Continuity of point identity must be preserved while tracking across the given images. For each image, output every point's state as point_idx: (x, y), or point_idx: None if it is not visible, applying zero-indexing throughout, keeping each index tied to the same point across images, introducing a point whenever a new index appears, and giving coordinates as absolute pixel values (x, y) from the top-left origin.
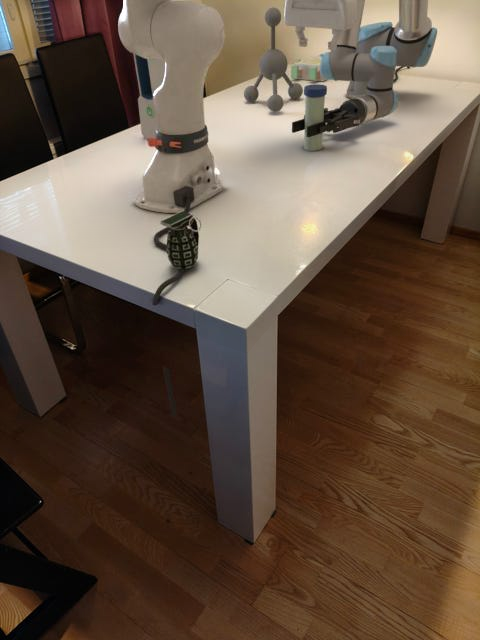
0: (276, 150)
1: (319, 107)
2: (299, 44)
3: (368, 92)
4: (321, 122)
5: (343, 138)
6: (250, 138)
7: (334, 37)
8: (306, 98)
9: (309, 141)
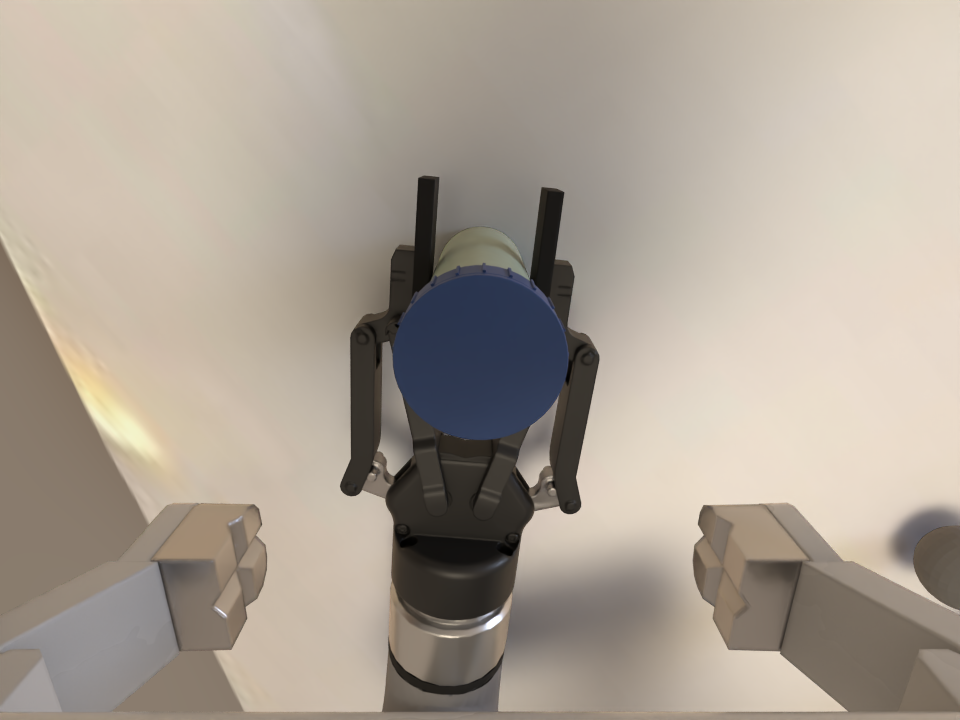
0: (603, 127)
1: None
2: (785, 511)
3: None
4: None
5: None
6: (834, 184)
7: (22, 610)
8: None
9: (469, 233)
